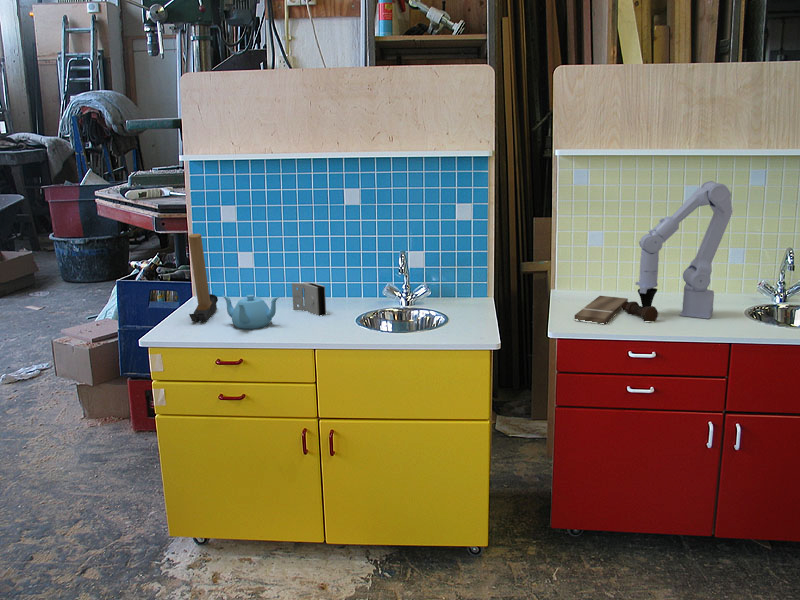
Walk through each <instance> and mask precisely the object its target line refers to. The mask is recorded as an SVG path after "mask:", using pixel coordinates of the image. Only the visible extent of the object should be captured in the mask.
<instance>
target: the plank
mask: <svg viewBox="0 0 800 600" xmlns="http://www.w3.org/2000/svg"><path fill="white" fill-rule="evenodd" d="M623 302H629V298H626V297H618V296H607V295H599V296H597V297H596V298H595V299H593V300H592V301H591V302H590V303H588V304H587V305H586V306H584V307H583V308H581V310H580V311H578V312H577V313H576V314H574V319H578V320H585V321H592V322H598V323H604V324H605V323H606V322H607V321H608V322H609V321H611V320H612V319H613V318H614V317H615V316H616V315H617V314H618V313H619V312H621V311H622V310H623V309H622V304H623ZM616 313H617V314H616ZM615 314H616V315H615ZM614 315H615V316H614ZM613 316H614V317H613ZM612 317H613V318H612ZM611 318H612V319H611ZM610 319H611V320H610ZM608 322H607V323H608ZM607 323H606V324H607ZM606 324H605V325H606Z"/></svg>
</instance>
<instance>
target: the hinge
mask: <svg viewBox="0 0 800 600" xmlns="http://www.w3.org/2000/svg"><path fill="white" fill-rule="evenodd" d="M291 289H292V290H291V292H292V308H293V309H292V310H302V311H301V312H306V311H308V312H307V313H309V312H310V313H309V314H312V313H313V314H312V315H314V314H316V315H315V316H317V315H319V316H320V315H322V314H323V315H322V316H326V315H327V305H326V303H327V301H326V286H325V285H322V284H320V283H319V284H318V283H316V282H310V281H305V282H291ZM303 310H304V311H303Z"/></svg>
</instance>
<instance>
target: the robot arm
mask: <svg viewBox="0 0 800 600" xmlns="http://www.w3.org/2000/svg"><path fill="white" fill-rule="evenodd" d="M708 205H709V207H710V209H711V210H712V212H713V215H712V216H711V219H710V221H709V223H708V226H707V228H706V231H705V234H704V236H703V239H702V240H701V243H700V245H699V248H698V251H697V253H696V256H695V257H694V258H693V259H692V260H691V262H690V263H689V265H688V266H687V268H686V269H684V270H683V272H682V279H683V281H684V282H685V283H684V286H683V296H682V297H683V298H682V310H681V311H680V312H679V314H678V315H679V316H680V317H682V316H683V317H690V318H697V319H710V318H711V316H712V315H713V313H714V299H715V291H714V290H711V289H708V287H709V286H710V284H711V274H712V272H713V271H712V268H713V267H712V263H713V261H714V258H715V255H716V253H717V251H718V249H719V246H720V243H721V241H722V239H723V236H724V234H725V231H726V229H727V227H728V224H729V222H730V219H731V217H732V215H733V205H732V193H731V191H730V190H729V188H728V186H727V185H725V184H723V183H720V182H719V183H718V182H716V181H713V180H708V181H705V182H703V184H702V185H701V186H700V187H699V188H697V189H696V190H695V191H694V192H693V193H692V194H691V196H689V197H688V198H687V199H686V200H685V202H684V203H682V205H681V206H680V207H679V208H678V209H677V210H676V211H675V212H674V213H673V214H672V215H671V216H665V217H664V218H662V217H661V218H659V220H658V223H657V224H656V225H655V226H654V227H653V228H652V229H649V230H648V233H645V234H644V235H642V237H641V238H640V240H639V241H638V245H639V247H640V248H641V250H640V263H639V278H638V279H639V280H638V281H635V283H634V284H635V286H638V287H639V288H637V293H638V295H639V298H640V301H641V306H642V307H649V306H653V305H652V304H653V300H654V298H655V295H656V293H657V292H658V288H657V287H658V285H659V284H658V274H659V273H658V272H659V262H660V261H659V260H660V259H659V258H660V256H659V255H660V250H662V248H663V244H664V243H665V242H666V241H668V240H669V239H670V237H672V236H673V235H674V234H675V233H676V232H677V231H678V230H679V229H680V223H681V222H682V221H683V220H685V219H686V218H687V217H688V216H689V215H690V214H692V213H694V211H695V210H696V209H697V208H699V207H703V206H708Z"/></svg>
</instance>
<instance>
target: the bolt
mask: <svg viewBox="0 0 800 600" xmlns="http://www.w3.org/2000/svg"><path fill="white" fill-rule="evenodd" d="M621 310H623V311H624V312H626V313H628V314H627V315H629V314H636V316H638V317H641V318H642V320H643V322H644V321H654V322H655V321H656V320H657V319H658V316H659V311H658V309H657V308H656V306H653V305H651V306H649V307H642V305H640V304H639V303H638V301H628V302H623V304H622V309H621Z"/></svg>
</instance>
